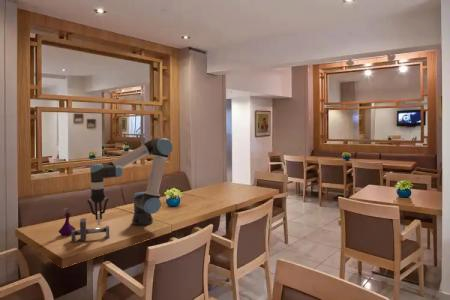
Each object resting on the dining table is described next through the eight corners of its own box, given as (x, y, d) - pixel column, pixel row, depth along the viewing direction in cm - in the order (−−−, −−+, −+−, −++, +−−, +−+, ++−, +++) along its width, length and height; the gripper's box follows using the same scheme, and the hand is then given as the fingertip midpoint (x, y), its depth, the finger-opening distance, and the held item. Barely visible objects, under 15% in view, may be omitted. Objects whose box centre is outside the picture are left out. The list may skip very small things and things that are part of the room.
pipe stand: (109, 235, 206) (108, 225, 206) (109, 237, 202) (109, 227, 201) (72, 239, 198) (71, 229, 198) (71, 242, 193) (71, 231, 193)
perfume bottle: (65, 232, 212) (64, 206, 211) (75, 233, 212) (74, 206, 210) (58, 236, 205) (57, 209, 204) (69, 236, 204) (68, 209, 203)
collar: (86, 235, 203) (85, 218, 202) (85, 240, 195) (85, 221, 194) (81, 236, 202) (80, 218, 201) (80, 240, 194) (79, 222, 193)
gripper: (108, 186, 206) (109, 221, 207) (86, 188, 201) (88, 224, 202) (108, 188, 199) (109, 224, 200) (86, 190, 194) (87, 227, 195)
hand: (99, 224), depth 201 cm, fingers closed
